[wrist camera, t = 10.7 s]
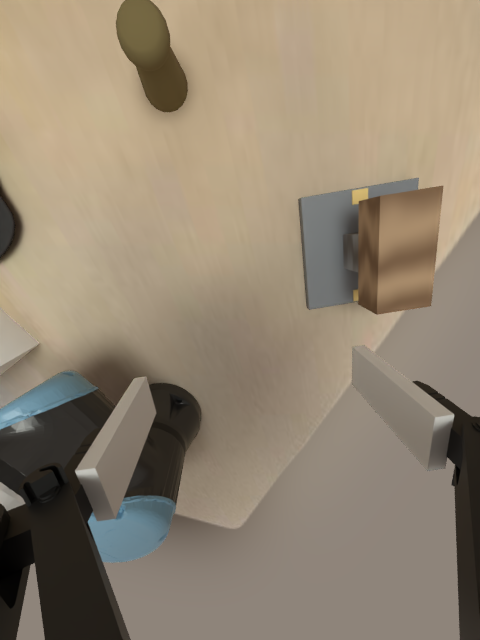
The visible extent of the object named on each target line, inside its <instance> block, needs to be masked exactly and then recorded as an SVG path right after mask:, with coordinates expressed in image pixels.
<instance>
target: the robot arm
mask: <svg viewBox="0 0 480 640" xmlns="http://www.w3.org/2000/svg"><path fill="white" fill-rule="evenodd" d="M352 385H353V386H354V387H355V388H356V390H357V391H358V392H359V393H360V394H361V395H362V396H363V398H364V399H365V400H366V401H367V402H368V403H369V405H371V407H372V408H373V409H374V410H375V411H376V413H377V414H378V415H379V416H380V417H381V418H382V419H383V421H384V422H385V423H386V424H387V425H388V426H389V427H390V429H391V430H392V431H393V432H394V433H395V434H396V436H397V437H398V438H399V439H400V440H401V441H402V442H403V444H404V445H405V446H406V447H407V448H408V449H409V450H410V452H411V453H412V454H413V455H414V456H415V457H416V459H417V460H418V461H419V462H420V463H421V464H422V465H423V466H424V468H425V469H426V470H427V471H431V470H438V469H444V468H445V466H446V461H447V457H448V458H449V459H450V460H451V461H452V462H453V463H454V464H455V469H454V474H453V480H452V485H453V486H455V509H456V510H455V513H456V542H457V568H458V569H457V571H458V596H459V597H458V599H459V628H460V640H480V417H472V416H470V415H469V414H467V413H466V412H465V411H463V410H462V409H460V408H459V407H458V406H456V405H455V404H454V403H452V402H451V401H449V400H448V399H445V397H444V396H442V395H441V394H438V392H437V391H436V390H434V389H433V388H431V387H430V386H428V385H426V384H424V383H421V382H419V381H413V382H412V381H410V380H409V379H407V378H406V377H405V376H404V375H402V374H401V373H400V372H399V371H397V370H396V369H395V368H393V367H392V366H391V365H389V364H388V363H387V362H386V361H384V360H383V359H382V358H380V357H379V356H378V355H376V354H375V353H374V352H373V351H371V350H370V349H369V348H367V347H366V346H365V345H361V346H355V347H352ZM98 389H99V388H98V387H97V386H94V385H92V384H91V383H90V382H89V381H87V380H86V379H85V378H84V377H83V376H82V375H81V374H79V373H78V372H75V371H63V372H60V373H58V374H57V375H55V376H53V377H52V378H50V379H48V380H47V381H45V382H43V383H42V384H40V385H38V386H37V387H35V388H33V389H32V390H30V391H29V392H27V393H25V394H24V395H22V396H20V397H19V398H17V399H15V400H14V401H12V402H11V403H9V404H7V405H6V406H4V407H2V408H1V409H0V640H16V637H17V631H18V626H19V620H20V616H21V610H22V606H23V600H24V595H25V590H26V585H27V580H28V575H29V570H30V565H31V564H33V563H35V566H36V574H37V582H38V589H39V597H40V605H41V612H42V619H43V628H44V635H45V640H131V639H130V637H129V634H128V631H127V629H126V626H125V623H124V620H123V617H122V614H121V612H120V609H119V606H118V603H117V601H116V598H115V595H114V592H113V590H112V587H111V584H110V582H109V579H108V576H107V573H106V570H105V567H104V565H103V562H125V561H131V560H135V559H138V558H141V557H144V556H146V555H148V554H149V553H151V552H153V551H154V550H156V549H157V548H158V547H159V546H160V545H161V544H162V543H163V542H164V540H165V538H166V537H167V534H168V532H169V528H170V525H171V521H172V517H173V514H174V513H175V509H176V502H177V496H178V491H179V485H180V480H181V474H182V468H183V463H184V457H185V452H186V451H187V449H188V448H189V446H190V445H191V443H192V441H193V440H194V438H195V437H196V435H197V433H198V430H199V427H200V421H201V411H200V407H199V405H198V403H197V401H196V400H195V398H194V397H193V396H192V395H191V394H190V393H188V392H187V391H186V390H184V389H182V388H180V387H178V386H175V385H171V384H152V385H149V384H148V381H147V377H146V376H145V377H138V378H134V379H133V381H132V382H131V384H130V385H129V387H128V388H127V390H126V392H125V393H124V395H123V396H122V398H121V399H120V401H119V403H118V404H117V406H116V407H115V406H114V405H113V404H112V403H111V402H110V401H109V400H108V399H107V398H106V397H105V396H104V395H103V394H102V393H101V392H100V391H99V390H98Z"/></svg>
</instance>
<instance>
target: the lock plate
mask: <svg viewBox="0 0 480 640" xmlns="http://www.w3.org/2000/svg"><path fill="white" fill-rule="evenodd" d="M418 181H419V178H414V179H409V180H403V181H397V182H391V183H385V184H379V185H374V186H368V187H362V188H356V189H350V190H344V191H339V192H333V193H327V194H321V195H315V196H310V197H304V198H300V199H299V212H300V225H301V238H302V251H303V264H304V277H305V290H306V303H307V308H308V309H309V310H310V309H316V308H322V307H328V306H334V305H340V304H346V303H352V302H358V272H354V271H351V270H348V269H345V268H344V256H343V234H350V233H356V232H359V201H361V200H365V199H369V198H373V197H377V196H382V195H388V194H395V193H401V192H407V191H413V190H418Z"/></svg>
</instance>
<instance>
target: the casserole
mask: <svg viewBox="0 0 480 640" xmlns="http://www.w3.org/2000/svg"><path fill="white" fill-rule="evenodd" d="M14 231H15V222H14V218H13V214H12V213H11V211H10V210H9V208H8V206H7V205H6V203H5V202H4V200H3V199H2V197H1V196H0V257H1V256H2V255H4V254H5V252H6V251H7V249H8V248H9V246H10V245H11V242H12V239H13V237H14Z"/></svg>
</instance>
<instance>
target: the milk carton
mask: <svg viewBox="0 0 480 640" xmlns="http://www.w3.org/2000/svg"><path fill="white" fill-rule="evenodd" d="M39 344H40V343H39V342H38V341H37V340H36V339H35V338H34V337H33V336H32V335H30V334H29V333H28V332H27V331H26V330H25V329H24V328H23V327H22V326H20V325H19V324H18V323H17V322H16V321H15V320H14V319H13V318H12V317H10V316H9V315H8V314H7V313H6V312H5V311H4V310H3V309H1V308H0V375H2V374H3V373H4V372H5V371H7V370H8V369H9V368H10V367H11V366H13V365H14V364H15V363H16V362H18V361H19V360H20V359H21V358H23V357H24V356H25V355H26V354H27V353H29V352H30V351H31V350H32V349H34V348H35V347H36V346H37V345H39Z"/></svg>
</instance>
